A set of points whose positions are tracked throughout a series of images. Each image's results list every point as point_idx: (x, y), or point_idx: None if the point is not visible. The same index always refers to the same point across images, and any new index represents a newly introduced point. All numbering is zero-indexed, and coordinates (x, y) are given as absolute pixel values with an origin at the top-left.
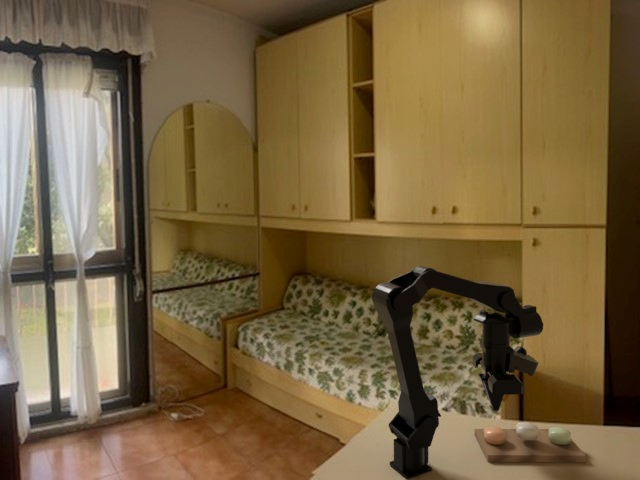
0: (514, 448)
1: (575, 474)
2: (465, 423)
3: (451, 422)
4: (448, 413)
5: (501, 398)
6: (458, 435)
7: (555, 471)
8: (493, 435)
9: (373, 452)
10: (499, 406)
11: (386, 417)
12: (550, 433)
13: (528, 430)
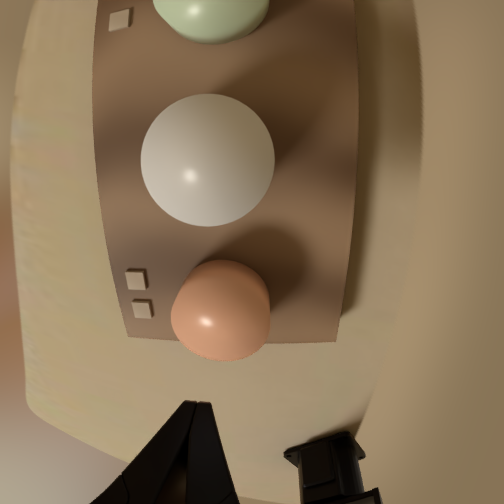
0: (291, 232)
1: (419, 48)
2: (61, 319)
3: (69, 353)
4: (26, 341)
5: (232, 489)
6: (144, 361)
7: (405, 106)
8: (266, 339)
9: (259, 482)
10: (216, 427)
11: (103, 448)
12: (223, 29)
13: (261, 168)
